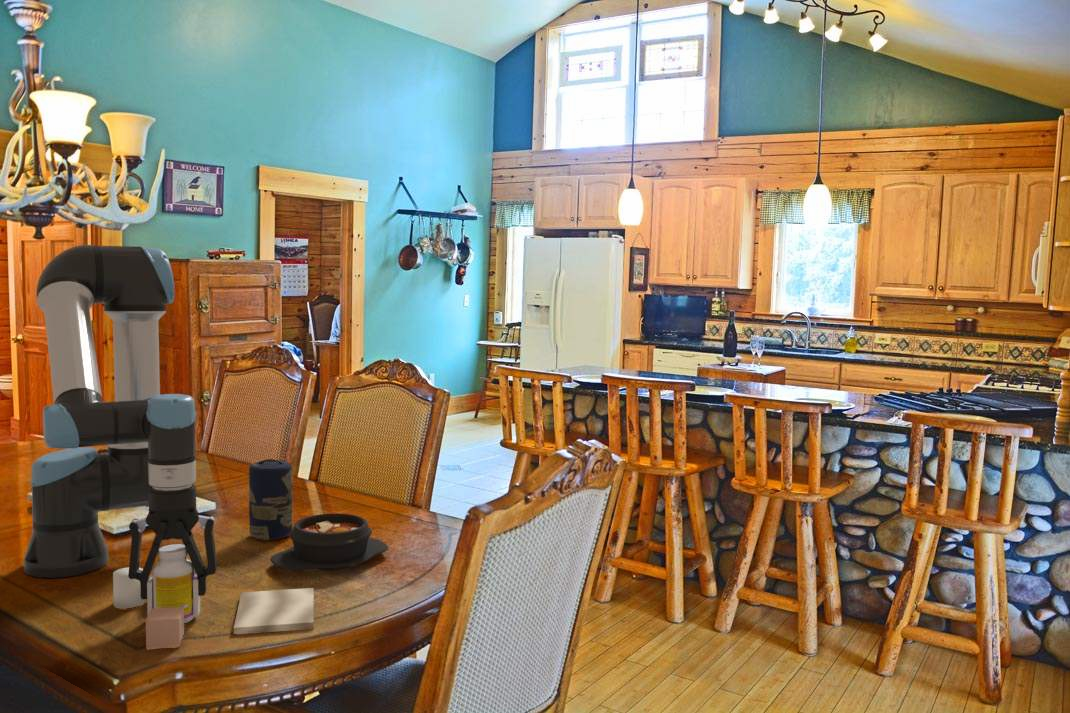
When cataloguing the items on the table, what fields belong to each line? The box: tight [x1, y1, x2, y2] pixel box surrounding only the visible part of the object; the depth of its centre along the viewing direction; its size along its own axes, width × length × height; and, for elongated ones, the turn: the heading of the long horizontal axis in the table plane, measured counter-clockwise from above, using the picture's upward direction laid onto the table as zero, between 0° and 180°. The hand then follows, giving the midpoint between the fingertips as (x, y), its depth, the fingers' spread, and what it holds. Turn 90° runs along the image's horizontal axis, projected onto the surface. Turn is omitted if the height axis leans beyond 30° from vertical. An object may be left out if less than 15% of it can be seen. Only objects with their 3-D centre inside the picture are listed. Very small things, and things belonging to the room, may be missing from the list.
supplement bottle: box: [152, 543, 195, 624], centre depth 149 cm, size 7×7×13 cm
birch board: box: [233, 587, 315, 635], centre depth 154 cm, size 13×16×1 cm
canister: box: [248, 458, 294, 541], centre depth 195 cm, size 10×10×18 cm
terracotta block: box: [145, 607, 185, 648], centre depth 141 cm, size 5×5×5 cm
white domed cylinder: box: [112, 566, 145, 610], centre depth 156 cm, size 5×5×6 cm
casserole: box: [270, 512, 389, 572], centre depth 181 cm, size 25×19×8 cm
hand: (174, 614), depth 149 cm, fingers closed on supplement bottle, 7 cm apart
